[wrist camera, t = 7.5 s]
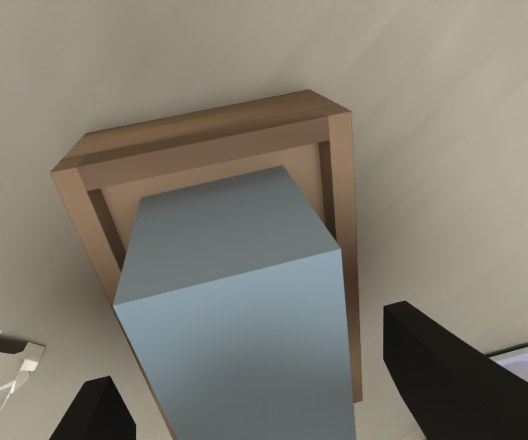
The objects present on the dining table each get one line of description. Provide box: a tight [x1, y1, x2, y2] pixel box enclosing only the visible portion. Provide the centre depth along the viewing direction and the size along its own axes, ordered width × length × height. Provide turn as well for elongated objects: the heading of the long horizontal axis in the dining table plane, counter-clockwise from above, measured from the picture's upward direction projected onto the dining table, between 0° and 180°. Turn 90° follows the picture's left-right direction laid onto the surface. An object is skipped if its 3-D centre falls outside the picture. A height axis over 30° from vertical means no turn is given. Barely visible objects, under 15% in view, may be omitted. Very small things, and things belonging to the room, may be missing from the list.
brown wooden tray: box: [50, 90, 363, 440], centre depth 13 cm, size 11×7×4 cm, turn 9°
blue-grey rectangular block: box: [113, 165, 356, 440], centre depth 10 cm, size 8×4×4 cm, turn 9°
